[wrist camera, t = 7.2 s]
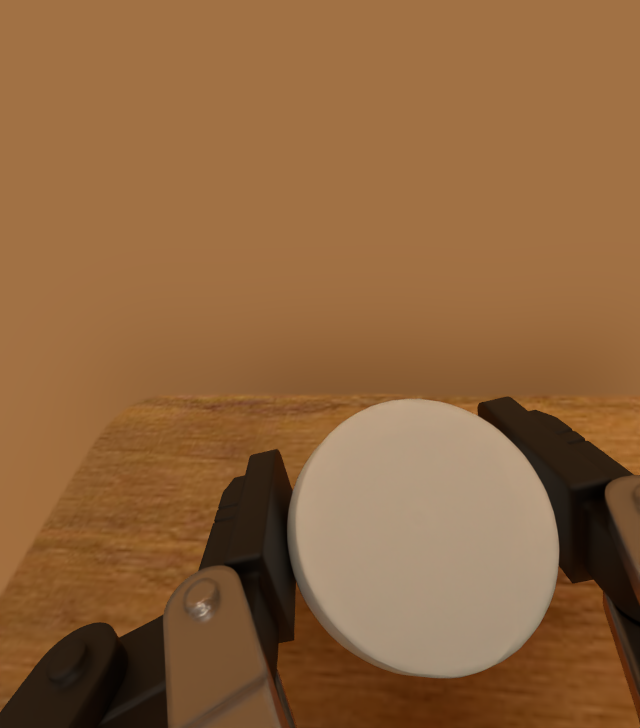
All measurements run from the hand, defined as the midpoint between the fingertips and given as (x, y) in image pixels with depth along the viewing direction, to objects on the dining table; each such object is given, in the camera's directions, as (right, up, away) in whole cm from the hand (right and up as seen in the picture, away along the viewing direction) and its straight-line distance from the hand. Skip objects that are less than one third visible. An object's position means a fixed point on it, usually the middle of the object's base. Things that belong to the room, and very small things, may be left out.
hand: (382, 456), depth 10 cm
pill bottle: (+1, -4, +5) cm, 6 cm away
